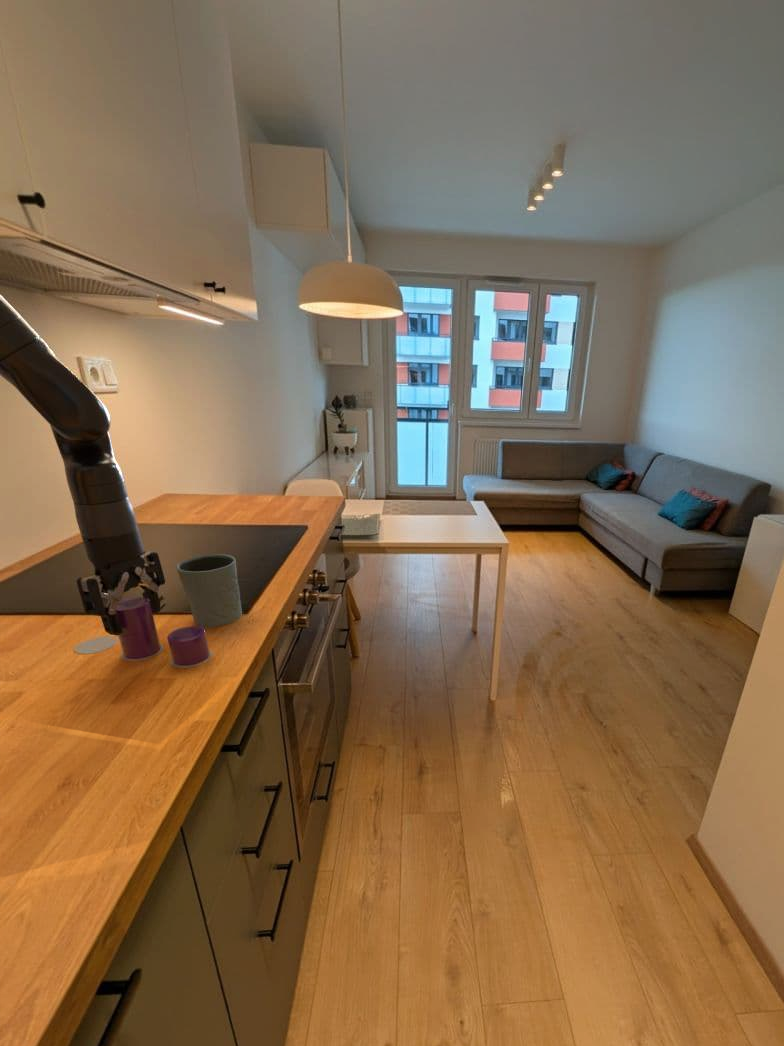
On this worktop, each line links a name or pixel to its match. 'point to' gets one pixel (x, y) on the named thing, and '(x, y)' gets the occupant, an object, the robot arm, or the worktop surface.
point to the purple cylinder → (135, 615)
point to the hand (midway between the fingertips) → (135, 622)
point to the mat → (108, 642)
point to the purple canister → (188, 645)
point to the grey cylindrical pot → (211, 589)
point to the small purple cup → (140, 644)
